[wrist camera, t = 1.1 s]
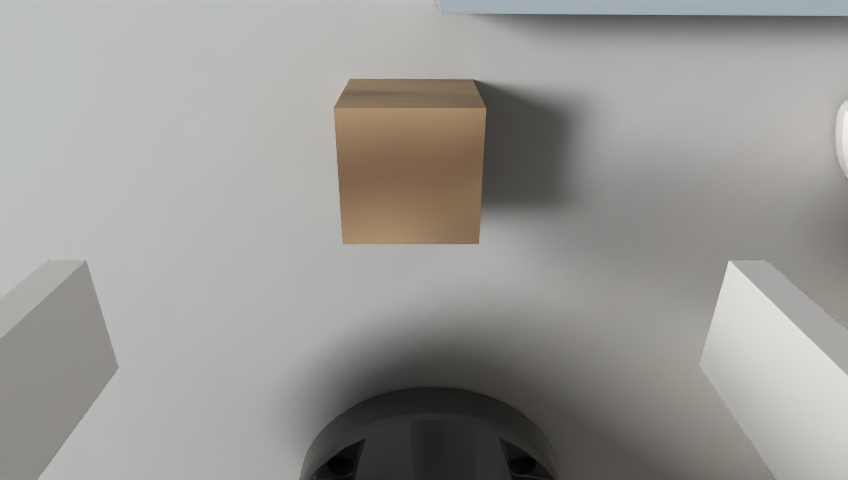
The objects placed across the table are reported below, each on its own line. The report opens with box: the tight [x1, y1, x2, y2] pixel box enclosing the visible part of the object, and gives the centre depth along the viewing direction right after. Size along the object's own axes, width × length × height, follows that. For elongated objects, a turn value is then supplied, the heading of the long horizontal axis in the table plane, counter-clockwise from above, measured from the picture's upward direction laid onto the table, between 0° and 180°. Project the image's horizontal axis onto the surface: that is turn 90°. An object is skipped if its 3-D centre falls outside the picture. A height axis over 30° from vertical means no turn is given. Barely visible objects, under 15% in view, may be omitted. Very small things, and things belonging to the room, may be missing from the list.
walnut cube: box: [334, 79, 486, 244], centre depth 22 cm, size 5×5×5 cm
